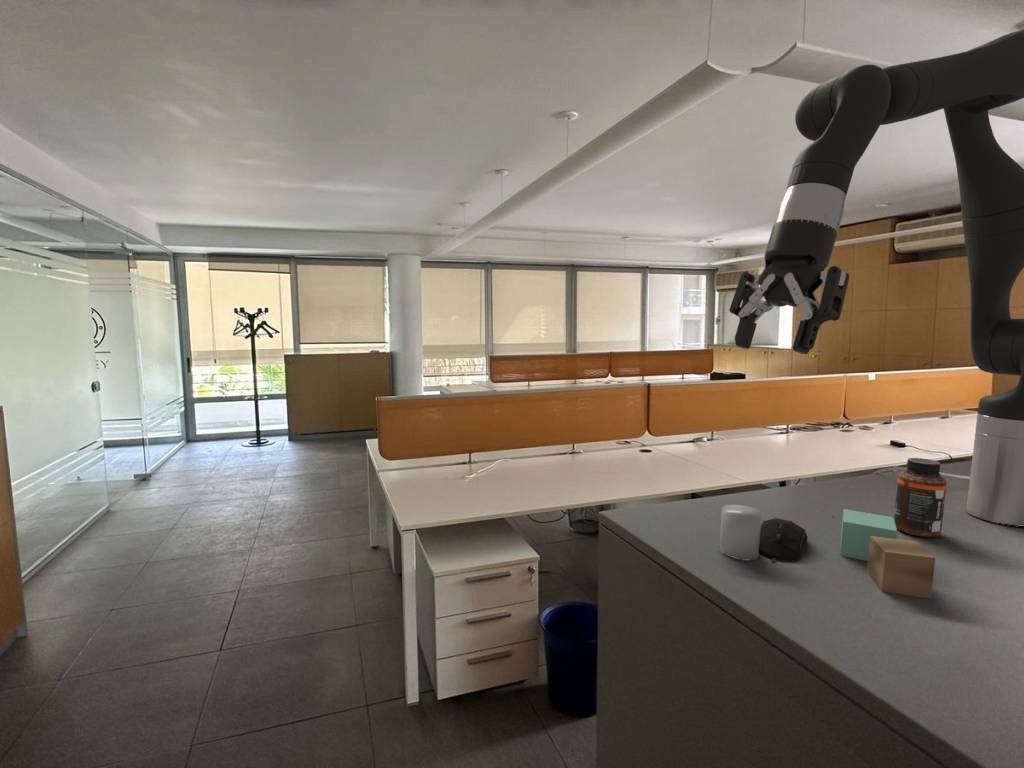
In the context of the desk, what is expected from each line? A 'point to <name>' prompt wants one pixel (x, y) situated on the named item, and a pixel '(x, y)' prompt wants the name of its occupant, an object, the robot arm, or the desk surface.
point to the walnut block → (901, 566)
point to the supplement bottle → (920, 498)
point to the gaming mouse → (782, 540)
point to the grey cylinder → (740, 531)
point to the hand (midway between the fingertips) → (769, 349)
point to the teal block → (863, 532)
